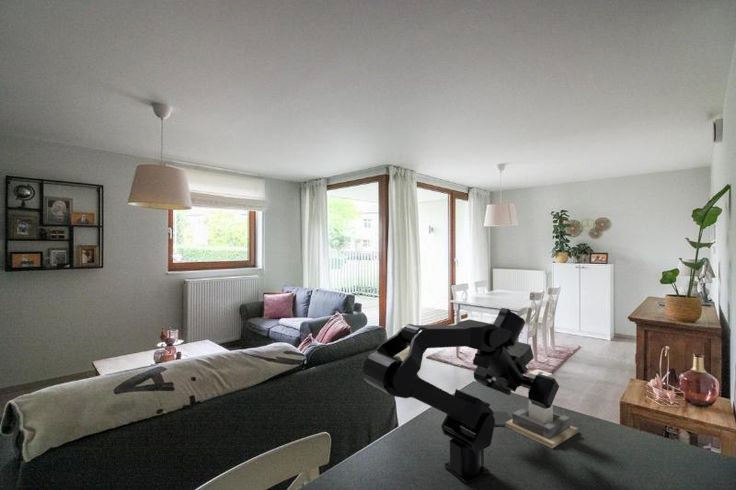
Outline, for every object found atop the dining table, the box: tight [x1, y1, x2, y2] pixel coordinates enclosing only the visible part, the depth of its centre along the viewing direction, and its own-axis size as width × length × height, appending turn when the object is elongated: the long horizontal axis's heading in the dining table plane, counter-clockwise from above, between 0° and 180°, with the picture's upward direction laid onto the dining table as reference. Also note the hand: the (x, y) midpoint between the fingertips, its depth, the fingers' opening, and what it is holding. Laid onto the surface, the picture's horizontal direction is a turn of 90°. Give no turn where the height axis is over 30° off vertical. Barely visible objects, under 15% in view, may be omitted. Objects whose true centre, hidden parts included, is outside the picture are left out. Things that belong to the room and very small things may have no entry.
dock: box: [504, 405, 579, 449], centre depth 88 cm, size 12×12×4 cm
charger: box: [527, 368, 554, 424], centre depth 88 cm, size 4×4×13 cm
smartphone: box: [493, 410, 512, 427], centre depth 93 cm, size 7×1×15 cm
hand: (527, 399), depth 85 cm, fingers open, 9 cm apart
